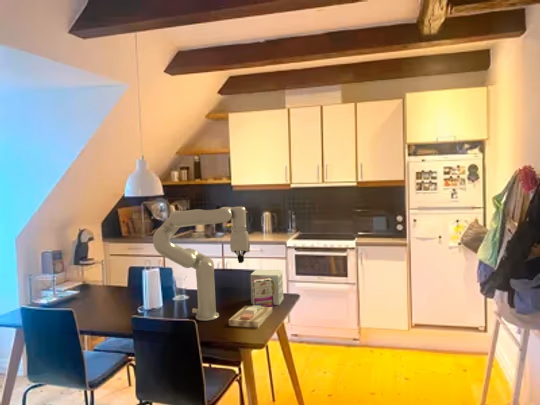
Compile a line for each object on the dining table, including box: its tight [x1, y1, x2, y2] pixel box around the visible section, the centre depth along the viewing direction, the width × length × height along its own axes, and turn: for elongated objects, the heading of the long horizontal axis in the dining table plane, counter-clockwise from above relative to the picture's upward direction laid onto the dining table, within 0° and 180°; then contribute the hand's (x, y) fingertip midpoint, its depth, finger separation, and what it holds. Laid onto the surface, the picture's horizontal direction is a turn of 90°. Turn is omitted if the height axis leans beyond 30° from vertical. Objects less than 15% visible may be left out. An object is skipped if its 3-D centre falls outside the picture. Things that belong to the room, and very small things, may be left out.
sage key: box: [251, 304, 261, 311], centre depth 244 cm, size 5×5×3 cm
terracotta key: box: [240, 313, 253, 320], centre depth 231 cm, size 5×5×3 cm
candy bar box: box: [252, 278, 274, 308], centre depth 256 cm, size 11×5×16 cm, turn 105°
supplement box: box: [250, 269, 284, 306], centre depth 267 cm, size 17×13×18 cm
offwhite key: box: [245, 307, 257, 316], centre depth 237 cm, size 5×5×3 cm
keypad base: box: [228, 305, 273, 329], centre depth 237 cm, size 16×24×3 cm, turn 162°
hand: (241, 262), depth 243 cm, fingers closed
